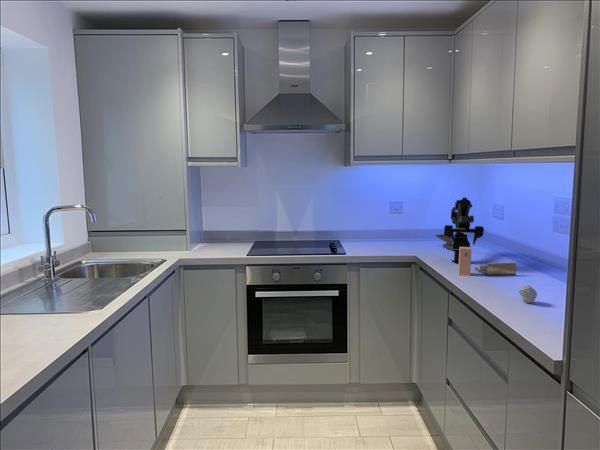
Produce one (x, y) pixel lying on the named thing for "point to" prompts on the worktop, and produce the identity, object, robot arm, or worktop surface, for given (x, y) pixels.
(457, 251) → the robot arm
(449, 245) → the zipper pull
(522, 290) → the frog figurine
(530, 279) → the worktop surface
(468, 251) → the cabinet block
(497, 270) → the cleat board
